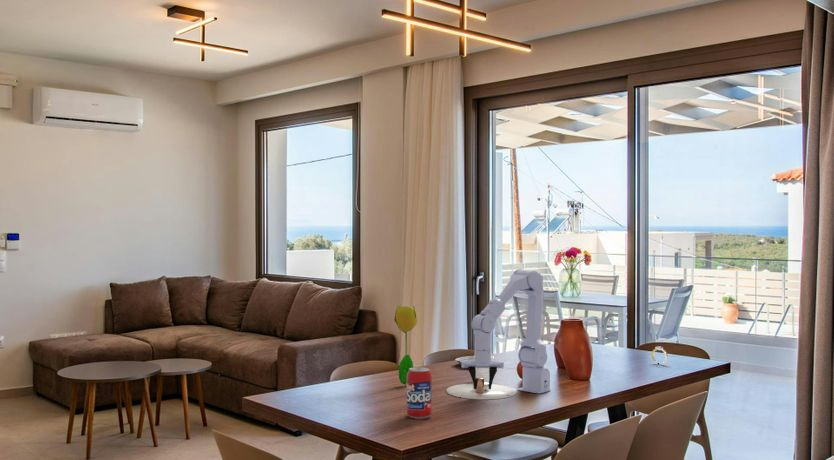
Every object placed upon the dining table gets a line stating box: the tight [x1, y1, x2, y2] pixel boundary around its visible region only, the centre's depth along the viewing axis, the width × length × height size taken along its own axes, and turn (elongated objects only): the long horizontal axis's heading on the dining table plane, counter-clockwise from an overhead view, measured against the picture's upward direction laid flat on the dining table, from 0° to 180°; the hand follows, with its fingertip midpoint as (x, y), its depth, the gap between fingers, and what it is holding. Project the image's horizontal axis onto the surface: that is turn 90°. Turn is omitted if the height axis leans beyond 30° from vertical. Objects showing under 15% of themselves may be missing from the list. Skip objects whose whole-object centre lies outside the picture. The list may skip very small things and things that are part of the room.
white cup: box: [475, 354, 495, 382], centre depth 292 cm, size 8×8×10 cm
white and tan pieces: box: [473, 377, 489, 394], centre depth 270 cm, size 15×6×6 cm, turn 172°
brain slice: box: [454, 355, 496, 367], centre depth 326 cm, size 20×17×3 cm
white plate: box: [446, 383, 517, 401], centre depth 274 cm, size 25×25×1 cm
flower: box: [393, 305, 418, 387], centre depth 284 cm, size 9×8×30 cm
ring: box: [650, 345, 669, 364], centre depth 333 cm, size 7×3×8 cm, turn 43°
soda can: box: [406, 366, 433, 420], centre depth 237 cm, size 8×8×15 cm
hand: (482, 388), depth 264 cm, fingers open, 4 cm apart
